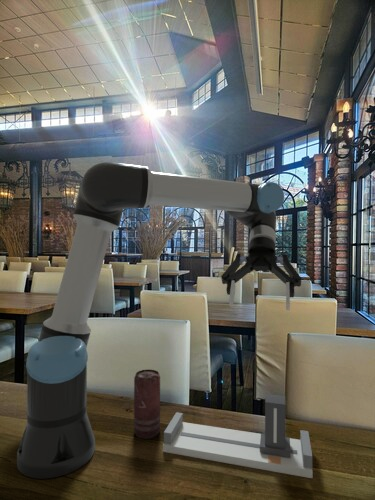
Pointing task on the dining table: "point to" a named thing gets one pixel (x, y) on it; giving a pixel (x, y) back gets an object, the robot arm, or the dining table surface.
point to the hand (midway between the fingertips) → (258, 305)
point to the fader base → (235, 447)
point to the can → (147, 404)
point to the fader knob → (275, 427)
